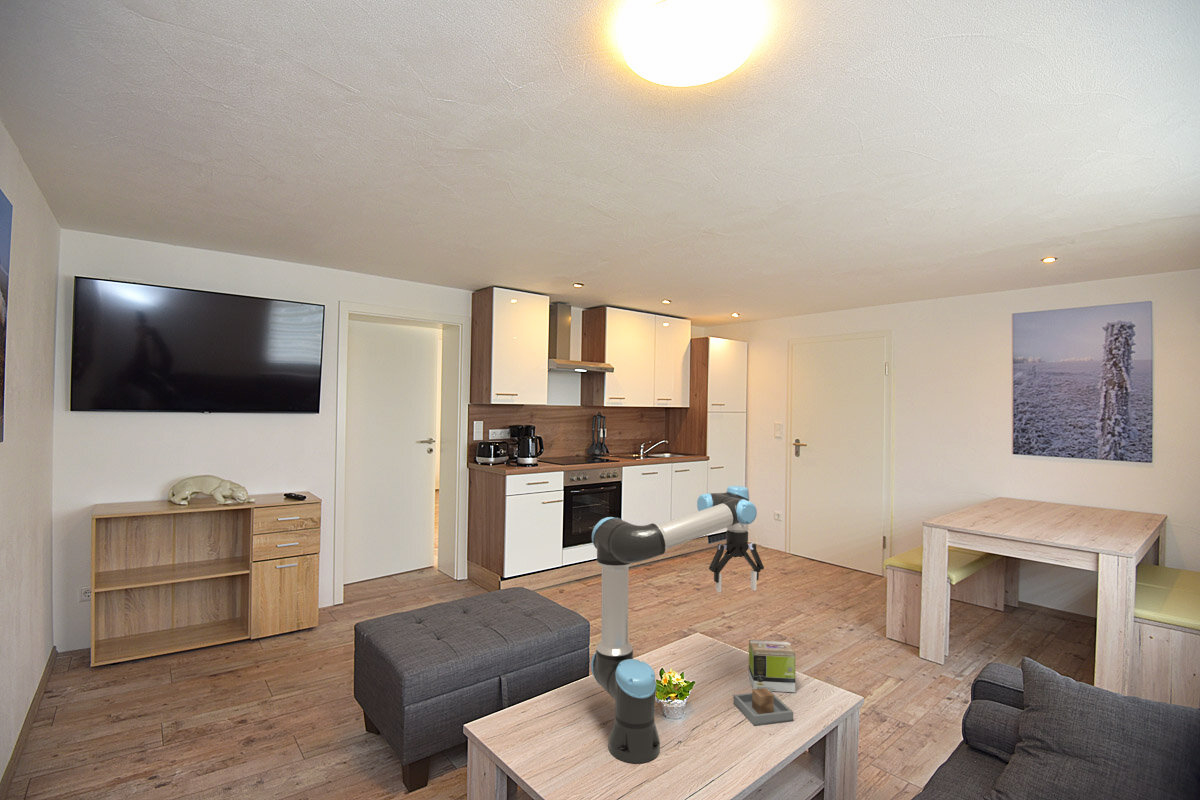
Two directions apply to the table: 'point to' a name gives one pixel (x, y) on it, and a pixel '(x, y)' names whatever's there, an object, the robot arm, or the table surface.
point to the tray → (778, 716)
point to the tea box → (772, 665)
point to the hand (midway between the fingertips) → (736, 590)
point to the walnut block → (762, 701)
